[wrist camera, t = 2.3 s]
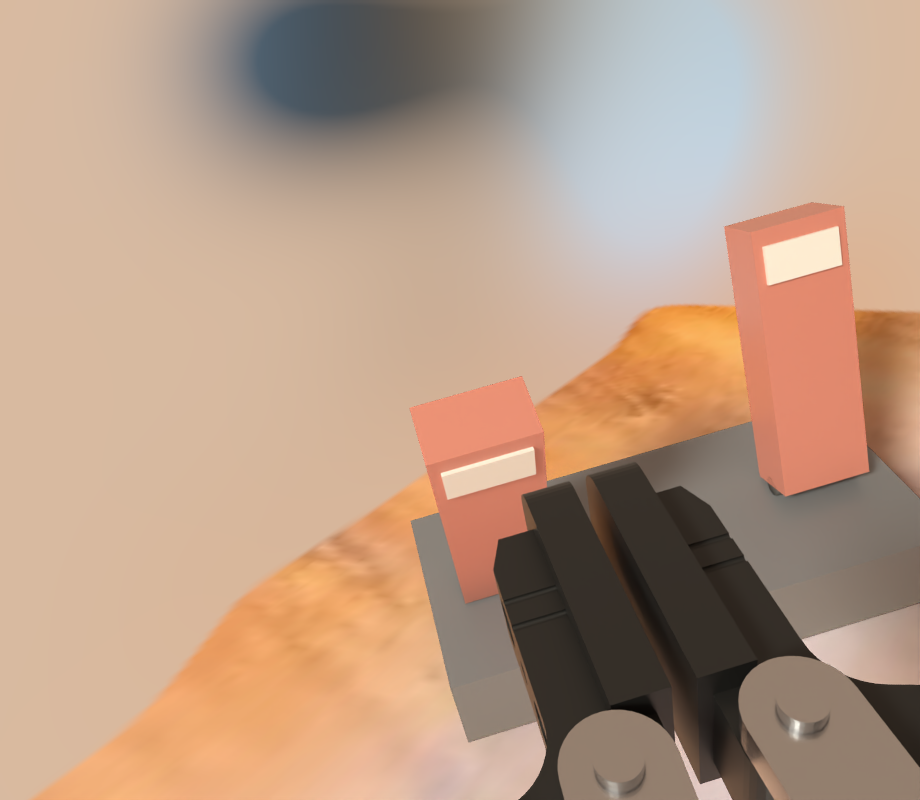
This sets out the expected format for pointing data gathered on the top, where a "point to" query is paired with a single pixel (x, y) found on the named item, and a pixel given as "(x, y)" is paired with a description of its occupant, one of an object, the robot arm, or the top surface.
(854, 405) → the rocker far
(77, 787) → the top surface
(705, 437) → the grey switch base
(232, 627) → the top surface
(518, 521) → the block
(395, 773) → the top surface
